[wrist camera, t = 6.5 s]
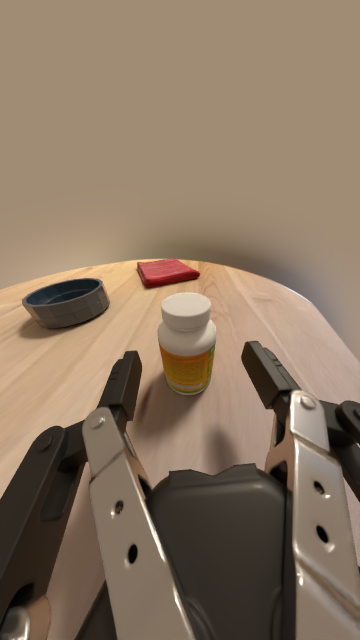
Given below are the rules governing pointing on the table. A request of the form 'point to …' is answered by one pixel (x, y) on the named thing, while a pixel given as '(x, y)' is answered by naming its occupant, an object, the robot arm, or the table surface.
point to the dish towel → (165, 272)
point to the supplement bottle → (187, 342)
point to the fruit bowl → (67, 302)
